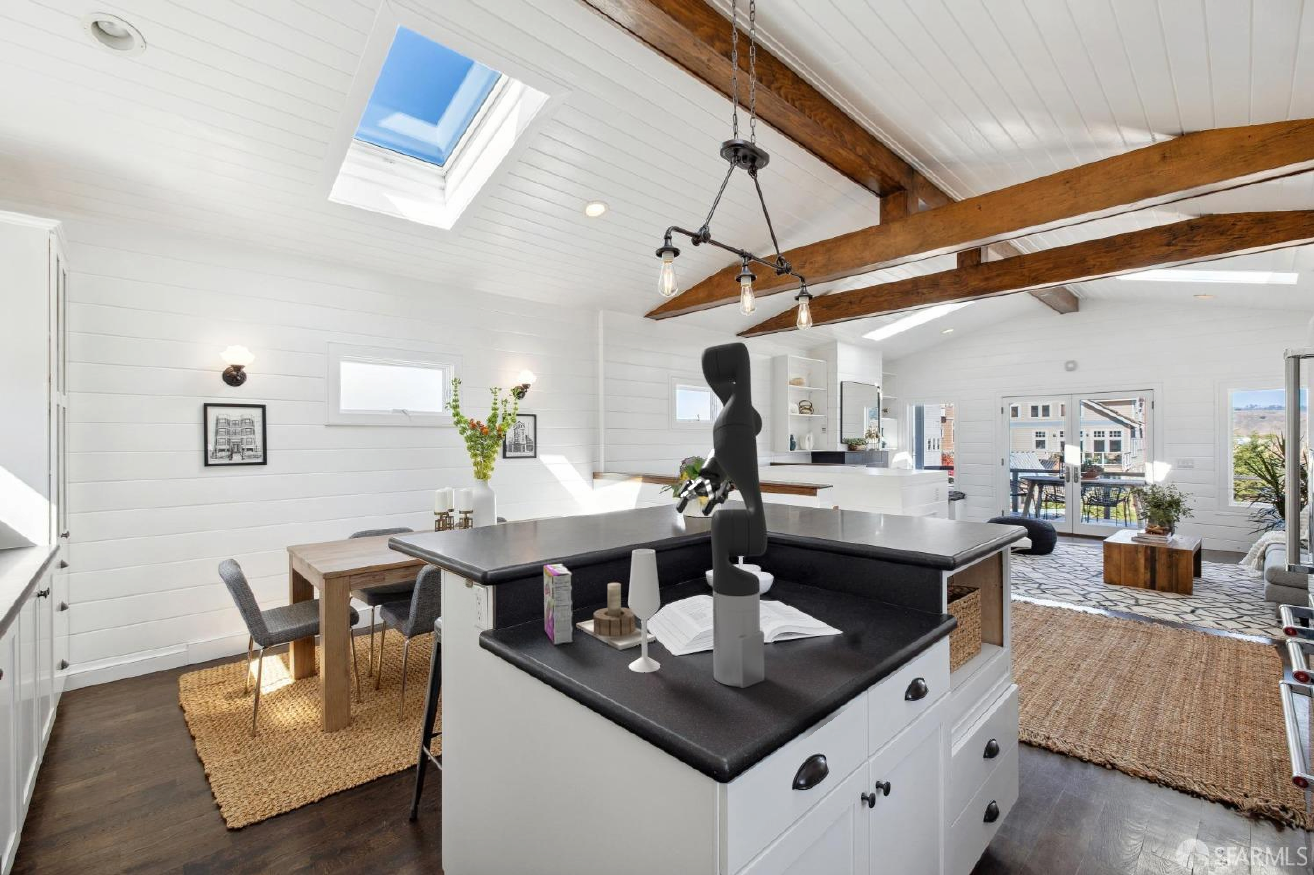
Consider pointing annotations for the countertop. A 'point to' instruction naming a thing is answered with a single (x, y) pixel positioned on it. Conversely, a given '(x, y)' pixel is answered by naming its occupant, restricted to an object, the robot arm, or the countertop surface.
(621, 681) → the countertop surface
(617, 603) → the wooden dowel peg
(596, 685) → the countertop surface
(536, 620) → the countertop surface
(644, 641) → the champagne flute
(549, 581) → the candy bar box
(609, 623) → the gear board
